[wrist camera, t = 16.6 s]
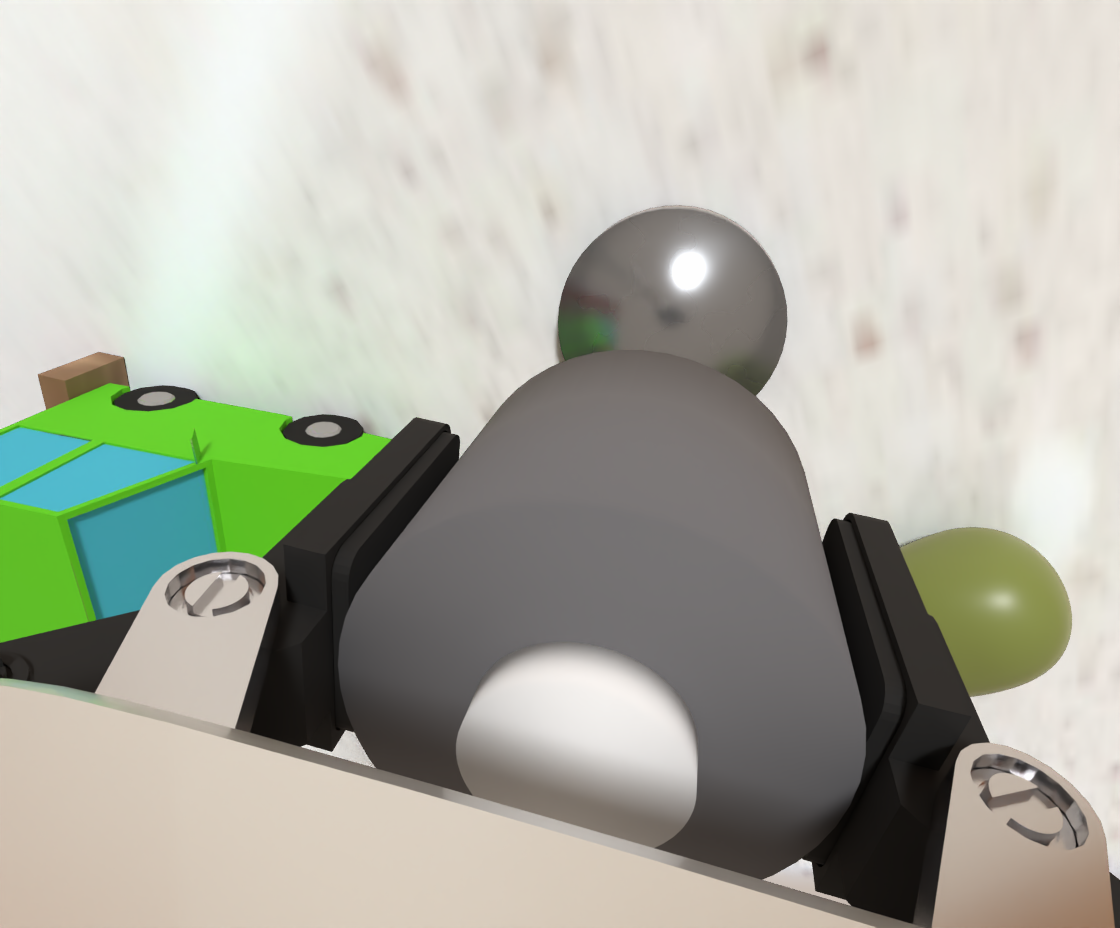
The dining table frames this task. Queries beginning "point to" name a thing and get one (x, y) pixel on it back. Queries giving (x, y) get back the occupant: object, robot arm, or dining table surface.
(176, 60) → the dining table surface
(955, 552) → the pear
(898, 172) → the dining table surface
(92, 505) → the toy car
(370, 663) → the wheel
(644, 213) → the shallow metal dish
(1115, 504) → the dining table surface
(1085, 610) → the dining table surface
